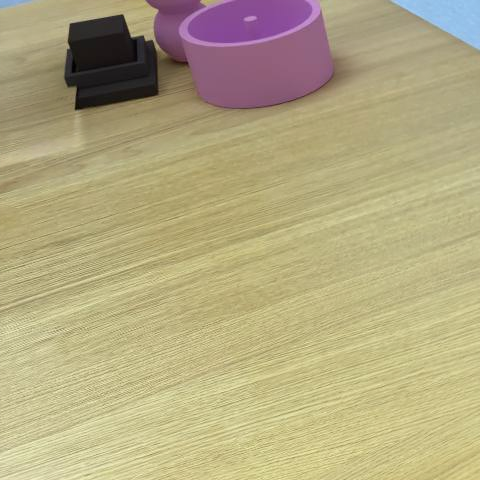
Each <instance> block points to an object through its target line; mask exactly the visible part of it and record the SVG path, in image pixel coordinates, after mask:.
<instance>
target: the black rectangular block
mask: <svg viewBox="0 0 480 480" xmlns="http://www.w3.org/2000/svg"><path fill="white" fill-rule="evenodd" d="M131 37H132V35H131V32H130V29H129V27H128V24H127V21H126V17H125V15H124V13H121V14H114V15H110V16H104V17H97V18H93V19H87V20H82V21H76V22H71V23H70V22H69V26H68V35H67V44H68V47H69V49H70V50H71V52H72V55H73V58H74V60H75V63H76V65H77V71H78V70H79V72H82V71H88V70H93V69H99V68H104V67H109V66H115V65H120V64H126V63H131V62H137V52H136V50H135V47H134V44H133V41H132V38H131Z"/></svg>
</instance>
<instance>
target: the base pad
mask: <svg viewBox="0 0 480 480" xmlns="http://www.w3.org/2000/svg"><path fill="white" fill-rule="evenodd" d="M131 38H132V41H133V44H134V47H135V50H136V52H137V62H131V63H126V64H120V65H115V66H109V67H104V68H99V69H93V70H88V71H82V72H79V70H78V68H77V65H76V63H75V60H74V58H73V55H72V52H71V50H70V48H66V54H65V55H66V56H65V63H64V73H63V79H64V82H65V84H66V87H67V88H72V87H75V88H76V89H75V100H74V111H78V110H83V109H90V108H94V107H100V106H105V105H111V104H116V103H121V102H126V101H131V100H138V99H142V98H147V97H153V96H159V93H160V92H159V79H158V77H159V76H158V59H157V48H156V45H155V42H154V39H150V40H146V38H145V35H142V34H141V35H136V36H131Z"/></svg>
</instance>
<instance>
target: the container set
mask: <svg viewBox="0 0 480 480" xmlns="http://www.w3.org/2000/svg"><path fill="white" fill-rule="evenodd" d="M144 1H145V2H146V3H147V4H148V5H149V6H150V7H152V8H154V9H155V10H158V11H157V12H156V14H155V16H154V20H153V36H154V39H155V41H156V44H157V45H158V47H159V48H160V50H161V51H162V52H164V53H165V54H166V55H167V56H169V57H170V58H172V60H174V61H176V62H180V63H188V67H189V69H190V74H191V76H192V79H193V82H194V86H195V89H196V92H197V94H198V96H199V97H200V99H201V100H203V101H204V102H206V103H208V104H211V105H213V106H216V107H222V108H229V109H230V108H231V109H253V108H254V109H255V108H262V107H269V106H275V105H279V104H283V103H286V102H290V101H294V100H297V99H299V98H302V97H304V96H307V95H309V94H310V93H312V92H315V91H316V90H318V89H320V88H321V87H323V86H324V85H325V84H327V83H328V81H329V80H330V79H331V78H332V76H333V75H334V71H335V67H334V66H335V65H334V62H333V57H332V52H331V47H330V43H329V39H328V34H327V30H326V29H327V28H326V24H325V20H324V15H323V10H322V6H321V4H320V2H319V1H318V0H221V1H217V2H214V3H212V4H210V5H206V4H204V3H202V2H201V1H202V0H144Z"/></svg>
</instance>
